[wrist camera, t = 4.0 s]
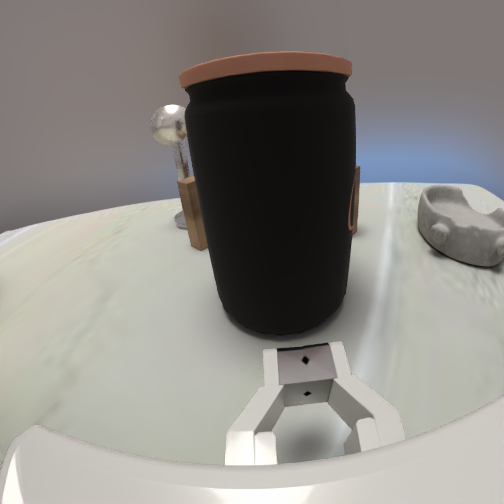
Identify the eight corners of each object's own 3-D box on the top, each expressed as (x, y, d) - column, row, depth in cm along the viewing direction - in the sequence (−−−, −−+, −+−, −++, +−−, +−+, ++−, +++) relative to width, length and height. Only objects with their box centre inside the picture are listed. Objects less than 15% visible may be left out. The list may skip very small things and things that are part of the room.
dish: (425, 208, 36) (429, 177, 33) (502, 235, 27) (510, 204, 25) (400, 248, 28) (406, 207, 25) (504, 289, 19) (521, 248, 16)
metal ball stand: (172, 230, 37) (146, 110, 28) (180, 215, 41) (159, 108, 32) (207, 226, 36) (186, 101, 28) (212, 211, 41) (194, 100, 32)
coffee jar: (366, 320, 20) (388, 60, 10) (231, 356, 19) (172, 61, 9) (316, 251, 29) (310, 71, 19) (215, 272, 28) (181, 82, 18)
